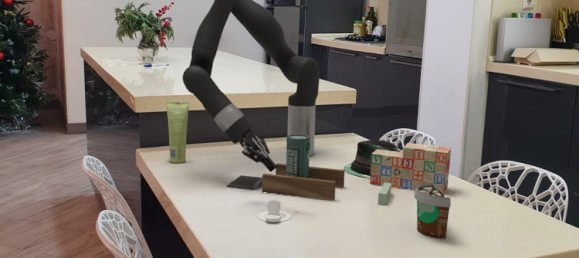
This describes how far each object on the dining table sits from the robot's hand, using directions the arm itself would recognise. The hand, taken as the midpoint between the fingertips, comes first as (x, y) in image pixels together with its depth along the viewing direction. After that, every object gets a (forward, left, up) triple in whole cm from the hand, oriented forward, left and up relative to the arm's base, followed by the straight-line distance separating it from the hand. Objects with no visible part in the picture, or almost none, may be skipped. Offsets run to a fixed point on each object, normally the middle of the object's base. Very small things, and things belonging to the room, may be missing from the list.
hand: (274, 169), depth 170 cm
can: (0, +7, -5) cm, 9 cm away
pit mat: (0, -8, -5) cm, 9 cm away
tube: (-14, -37, -5) cm, 40 cm away
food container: (+20, +44, -5) cm, 48 cm away
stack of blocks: (-14, +36, -5) cm, 39 cm away
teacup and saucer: (+25, +6, -6) cm, 26 cm away
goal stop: (0, +31, -5) cm, 32 cm away
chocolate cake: (-28, +24, -5) cm, 37 cm away
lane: (0, +9, -5) cm, 10 cm away
